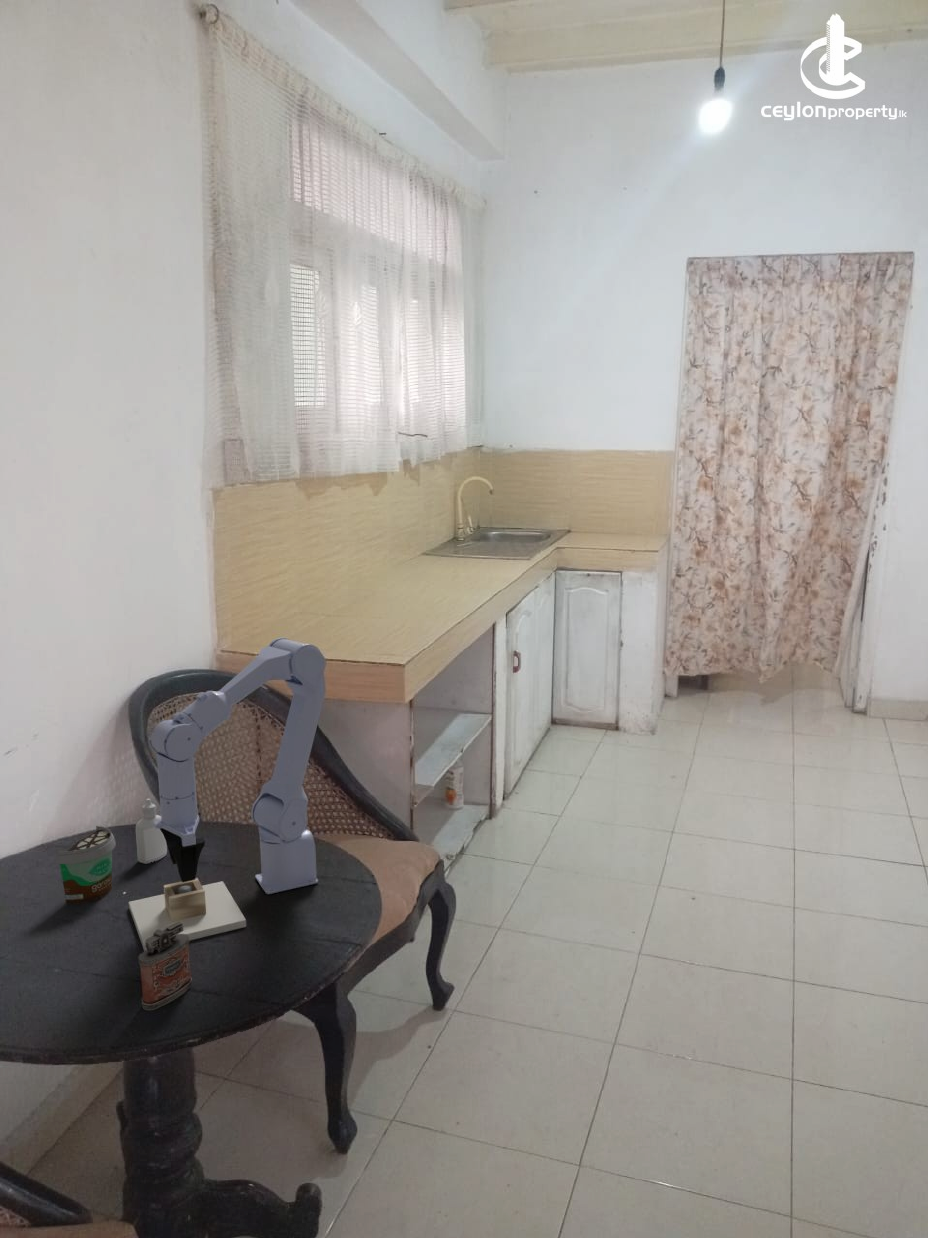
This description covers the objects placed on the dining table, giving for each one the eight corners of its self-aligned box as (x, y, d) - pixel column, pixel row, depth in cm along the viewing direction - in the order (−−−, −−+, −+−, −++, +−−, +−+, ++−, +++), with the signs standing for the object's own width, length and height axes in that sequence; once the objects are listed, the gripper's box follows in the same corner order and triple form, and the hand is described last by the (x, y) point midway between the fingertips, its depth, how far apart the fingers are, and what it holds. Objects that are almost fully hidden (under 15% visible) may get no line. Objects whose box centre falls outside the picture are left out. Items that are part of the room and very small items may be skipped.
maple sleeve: (198, 900, 158) (197, 878, 158) (206, 913, 153) (204, 891, 153) (165, 907, 156) (163, 885, 155) (171, 922, 151) (169, 899, 150)
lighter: (152, 1013, 128) (147, 946, 126) (136, 1005, 130) (131, 940, 128) (197, 985, 135) (193, 921, 133) (181, 978, 137) (177, 915, 135)
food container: (93, 910, 158) (88, 855, 156) (61, 907, 159) (55, 852, 157) (132, 878, 170) (128, 827, 168) (102, 876, 171) (98, 824, 169)
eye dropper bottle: (170, 859, 177) (165, 800, 175) (139, 866, 175) (134, 805, 173) (165, 851, 181) (161, 793, 179) (135, 857, 179) (130, 798, 176)
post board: (223, 887, 165) (221, 860, 165) (246, 926, 152) (244, 897, 151) (129, 908, 158) (126, 880, 157) (144, 951, 144) (142, 920, 143)
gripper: (145, 784, 156) (151, 859, 158) (160, 812, 143) (166, 894, 145) (187, 776, 159) (193, 851, 161) (206, 804, 146) (212, 884, 149)
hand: (183, 871), depth 153 cm, fingers open, 7 cm apart
